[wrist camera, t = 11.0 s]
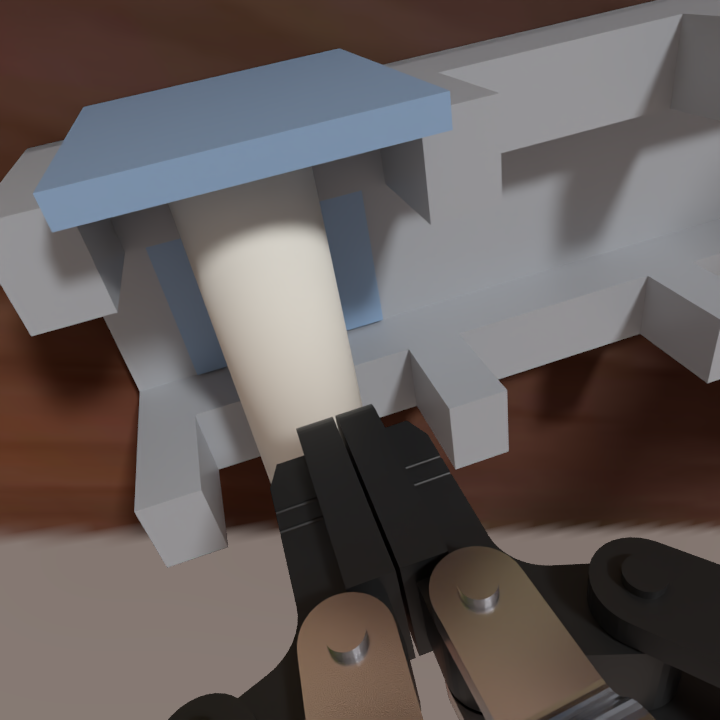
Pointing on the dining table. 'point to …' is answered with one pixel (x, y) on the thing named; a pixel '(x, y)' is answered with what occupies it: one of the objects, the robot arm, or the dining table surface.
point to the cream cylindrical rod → (272, 304)
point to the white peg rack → (394, 228)
